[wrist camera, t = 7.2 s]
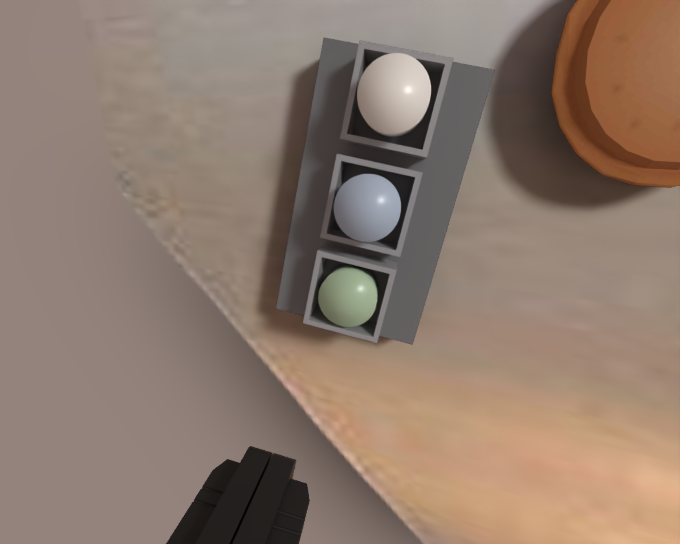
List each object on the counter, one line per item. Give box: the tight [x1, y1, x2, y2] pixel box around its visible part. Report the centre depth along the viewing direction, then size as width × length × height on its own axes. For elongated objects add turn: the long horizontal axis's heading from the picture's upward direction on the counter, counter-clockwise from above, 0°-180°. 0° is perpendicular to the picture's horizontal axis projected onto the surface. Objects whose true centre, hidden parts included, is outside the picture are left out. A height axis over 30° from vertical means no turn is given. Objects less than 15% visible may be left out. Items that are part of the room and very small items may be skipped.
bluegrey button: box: [334, 174, 401, 242], centre depth 25 cm, size 4×4×2 cm
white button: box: [357, 53, 431, 137], centre depth 23 cm, size 4×4×2 cm
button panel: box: [276, 38, 495, 345], centre depth 28 cm, size 12×21×6 cm, turn 168°
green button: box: [318, 264, 378, 327], centre depth 28 cm, size 4×4×2 cm
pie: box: [551, 0, 680, 188], centre depth 23 cm, size 16×16×5 cm
